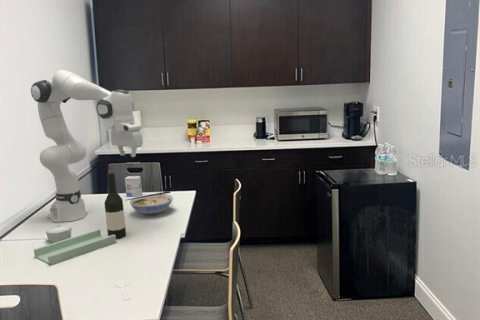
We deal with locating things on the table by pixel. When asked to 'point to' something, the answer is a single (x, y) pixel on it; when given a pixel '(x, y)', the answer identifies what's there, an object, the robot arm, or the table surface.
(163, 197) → the ramen bowl
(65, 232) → the ramekin
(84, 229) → the table surface
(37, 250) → the tray
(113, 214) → the wine bottle
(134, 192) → the ink box
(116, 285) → the spoon
